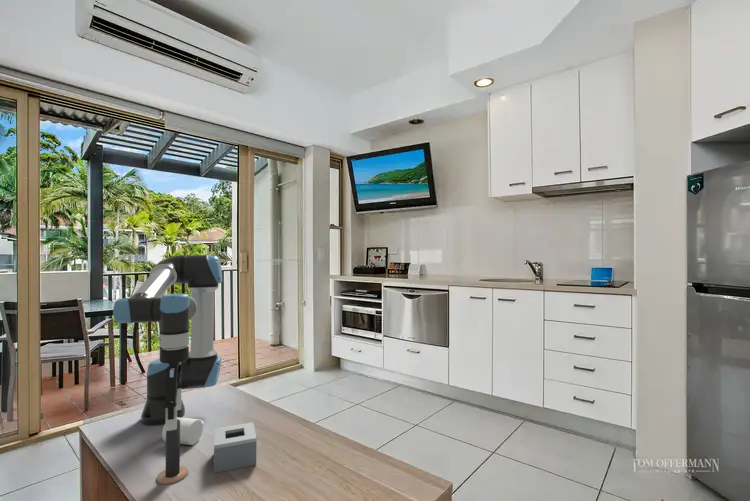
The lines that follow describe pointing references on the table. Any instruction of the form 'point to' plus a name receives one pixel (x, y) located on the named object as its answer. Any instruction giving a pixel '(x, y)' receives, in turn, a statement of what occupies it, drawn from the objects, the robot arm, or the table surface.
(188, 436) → the mug
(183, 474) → the coaster
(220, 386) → the table surface
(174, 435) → the rod
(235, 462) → the square hole box
